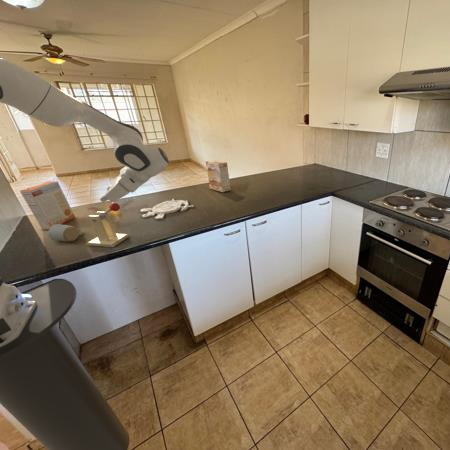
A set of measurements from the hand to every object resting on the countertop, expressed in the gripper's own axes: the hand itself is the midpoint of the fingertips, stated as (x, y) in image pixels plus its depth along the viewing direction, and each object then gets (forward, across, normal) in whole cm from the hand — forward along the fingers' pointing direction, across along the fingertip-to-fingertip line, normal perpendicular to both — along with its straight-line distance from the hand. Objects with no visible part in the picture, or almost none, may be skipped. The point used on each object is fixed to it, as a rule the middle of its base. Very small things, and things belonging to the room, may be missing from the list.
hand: (105, 195), depth 101 cm
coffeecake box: (-24, -57, +48) cm, 78 cm away
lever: (+6, 0, +8) cm, 10 cm away
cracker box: (+46, -31, +5) cm, 55 cm away
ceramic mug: (+34, -10, +9) cm, 36 cm away
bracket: (+18, -1, +17) cm, 24 cm away
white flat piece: (+2, -33, +30) cm, 45 cm away
